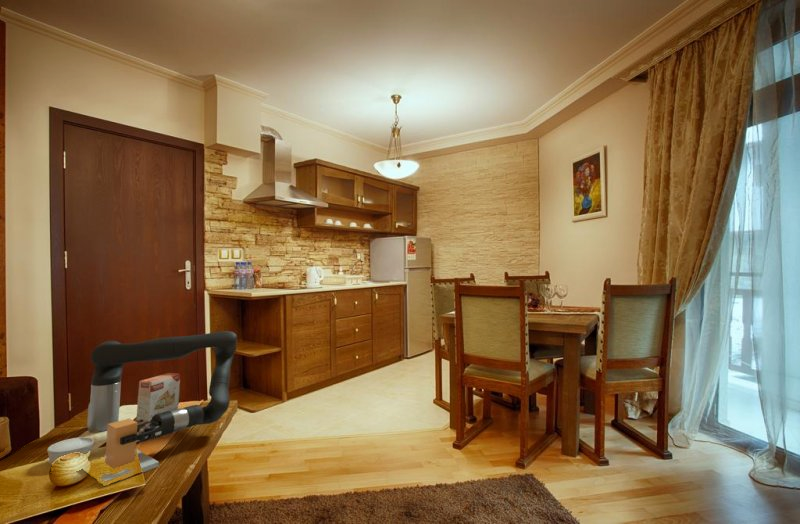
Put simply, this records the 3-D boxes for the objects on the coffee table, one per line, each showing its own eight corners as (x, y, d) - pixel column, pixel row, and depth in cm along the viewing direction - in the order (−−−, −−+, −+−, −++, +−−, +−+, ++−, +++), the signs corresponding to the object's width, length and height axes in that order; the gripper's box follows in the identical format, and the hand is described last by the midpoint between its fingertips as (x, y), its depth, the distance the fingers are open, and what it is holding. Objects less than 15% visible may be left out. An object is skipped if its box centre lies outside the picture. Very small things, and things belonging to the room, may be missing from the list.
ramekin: (101, 454, 123) (102, 438, 124) (65, 471, 112) (66, 453, 113) (75, 451, 126) (76, 435, 126) (36, 466, 115) (38, 449, 115)
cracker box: (148, 440, 135) (151, 382, 136) (134, 438, 136) (137, 380, 137) (178, 426, 148) (181, 373, 150) (165, 424, 150) (168, 372, 151)
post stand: (80, 468, 114) (82, 440, 115) (132, 451, 126) (134, 425, 126) (104, 486, 104) (106, 455, 105) (158, 466, 116) (160, 439, 117)
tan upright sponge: (105, 463, 114) (107, 424, 115) (126, 456, 119) (129, 418, 120) (113, 469, 111) (115, 428, 112) (135, 461, 116) (137, 422, 117)
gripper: (160, 406, 132) (105, 420, 118) (181, 415, 124) (125, 431, 110) (159, 428, 131) (104, 444, 118) (180, 438, 124) (124, 456, 110)
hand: (114, 438), depth 114 cm, fingers open, 8 cm apart
